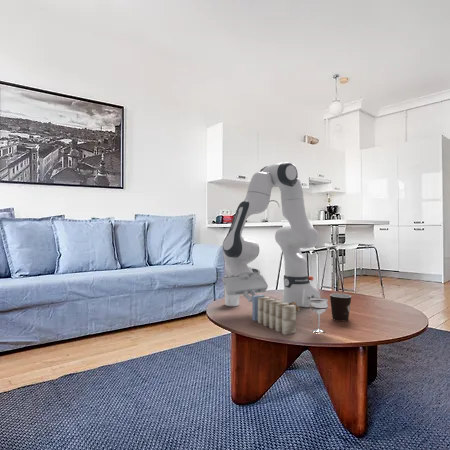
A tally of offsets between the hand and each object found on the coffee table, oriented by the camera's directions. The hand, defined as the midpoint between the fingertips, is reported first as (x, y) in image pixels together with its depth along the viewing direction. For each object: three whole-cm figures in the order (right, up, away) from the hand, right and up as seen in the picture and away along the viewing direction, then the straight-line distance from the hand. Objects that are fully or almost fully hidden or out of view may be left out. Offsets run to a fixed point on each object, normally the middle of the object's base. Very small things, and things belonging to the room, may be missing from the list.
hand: (252, 300), depth 149 cm
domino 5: (+10, -7, -18) cm, 22 cm away
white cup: (-8, -7, +22) cm, 25 cm away
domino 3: (+6, -7, -11) cm, 14 cm away
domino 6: (+12, -7, -22) cm, 26 cm away
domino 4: (+8, -7, -15) cm, 18 cm away
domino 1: (+2, -7, -4) cm, 8 cm away
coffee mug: (+38, -7, -2) cm, 39 cm away
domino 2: (+4, -7, -8) cm, 11 cm away
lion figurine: (+14, -7, -6) cm, 17 cm away
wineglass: (+23, -7, -19) cm, 31 cm away
